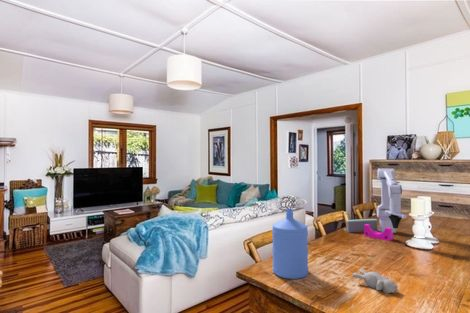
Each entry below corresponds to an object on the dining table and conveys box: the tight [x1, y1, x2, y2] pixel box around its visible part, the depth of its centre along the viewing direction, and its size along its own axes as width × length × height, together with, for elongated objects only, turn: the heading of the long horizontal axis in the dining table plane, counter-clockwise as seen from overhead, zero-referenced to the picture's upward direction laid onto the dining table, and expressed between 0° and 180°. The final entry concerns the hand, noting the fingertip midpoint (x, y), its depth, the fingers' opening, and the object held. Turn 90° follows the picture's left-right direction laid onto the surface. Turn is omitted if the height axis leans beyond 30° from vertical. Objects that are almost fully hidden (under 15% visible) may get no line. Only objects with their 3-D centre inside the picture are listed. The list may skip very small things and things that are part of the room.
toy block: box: [363, 224, 394, 242], centre depth 171 cm, size 15×6×8 cm, turn 43°
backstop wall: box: [343, 218, 379, 233], centre depth 188 cm, size 22×6×8 cm, turn 100°
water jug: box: [271, 208, 309, 280], centre depth 120 cm, size 16×16×28 cm
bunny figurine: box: [352, 268, 399, 294], centre depth 106 cm, size 10×5×15 cm
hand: (395, 228), depth 159 cm, fingers closed
